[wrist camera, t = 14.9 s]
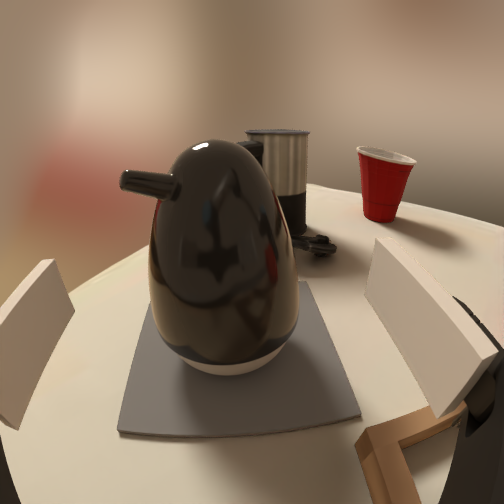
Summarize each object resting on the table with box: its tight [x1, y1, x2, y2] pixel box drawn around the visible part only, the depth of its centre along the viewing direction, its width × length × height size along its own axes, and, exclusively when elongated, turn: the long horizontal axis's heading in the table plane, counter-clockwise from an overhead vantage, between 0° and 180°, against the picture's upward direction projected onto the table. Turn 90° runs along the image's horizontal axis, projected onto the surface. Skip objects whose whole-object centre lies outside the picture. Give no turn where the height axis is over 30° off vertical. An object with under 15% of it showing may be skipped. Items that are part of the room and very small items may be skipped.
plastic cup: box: [356, 147, 416, 223], centre depth 43 cm, size 11×11×12 cm
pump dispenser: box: [119, 139, 300, 376], centre depth 18 cm, size 10×10×15 cm
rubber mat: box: [117, 281, 362, 437], centre depth 21 cm, size 16×16×1 cm
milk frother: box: [236, 129, 337, 257], centre depth 36 cm, size 14×16×15 cm
